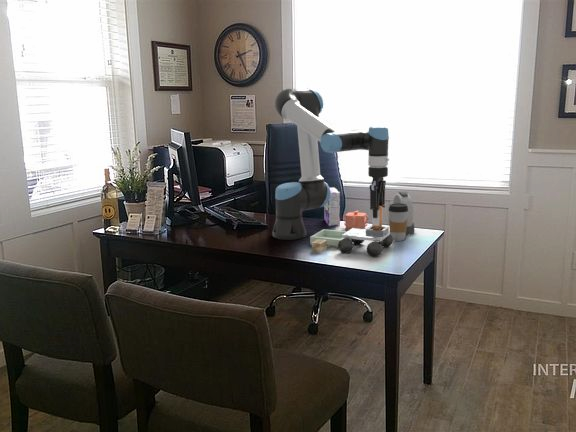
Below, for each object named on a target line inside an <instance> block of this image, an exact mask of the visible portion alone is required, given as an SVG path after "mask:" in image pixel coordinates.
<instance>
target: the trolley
mask: <svg viewBox="0 0 576 432" xmlns="http://www.w3.org/2000/svg"><path fill="white" fill-rule="evenodd" d="M342 238H344V239H342V240H341V241H339V243H338V248H337V249H338V250H339V251H340V253H341V254H349V253H350V252H352V251H353V249H354V245H361V244H363V243H364V242H365V241H368V242H369V241H370V243H369V244H367V247H366V252H367V254H368V255H369V256H370V257H373V258H377V257H379V256H380V255H381V254H382V253H383V250H384V249H383V248H385V249H386V248H389V247H390V246H392V245H393V242H394V240H393V237H392V236H391V235H390V227H389V226H384V225H382V230H374V229H373V226H372V224H371V225H370V226H369V227H366V228H364V229H358V228H352V229H350V230H349V229H348V230H347V231H346V233H344V234H342ZM348 238H350V239H351V240H350V239H348Z"/></svg>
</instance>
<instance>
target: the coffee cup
mask: <svg viewBox="0 0 576 432" xmlns="http://www.w3.org/2000/svg"><path fill="white" fill-rule="evenodd" d="M407 214H408V207H407V205H406V204H400V203H395V204H393V203H391V204H389V207H388V221H389V223H388V225H389V226H388V227H389V232H390V235H391V236H392V237H393V241H394V240H395V241H396V242H401V241H405V239H406V227H407Z"/></svg>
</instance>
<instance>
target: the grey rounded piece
mask: <svg viewBox="0 0 576 432" xmlns="http://www.w3.org/2000/svg"><path fill="white" fill-rule="evenodd" d="M392 201H393V202H392V204H395V203H400V204H406V205H407V207H408V214H407V227H406V235H408V234H410V235H414V234H415V223H414V222H413V220H414V205H413V199H412V197H411V195H410V194H409V193H408V192H407V191H398V193H396V194H395V195H394V197H393V200H392ZM406 235H405V236H406ZM408 236H409V235H408Z"/></svg>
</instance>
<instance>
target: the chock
mask: <svg viewBox="0 0 576 432" xmlns="http://www.w3.org/2000/svg"><path fill="white" fill-rule="evenodd" d="M327 250H328V247H327V240H322V239H317V240H316V241H314V242H312V245H311V252H312V253H317V252H318V253H317V254H322V253H323V252H325V251H327Z"/></svg>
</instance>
